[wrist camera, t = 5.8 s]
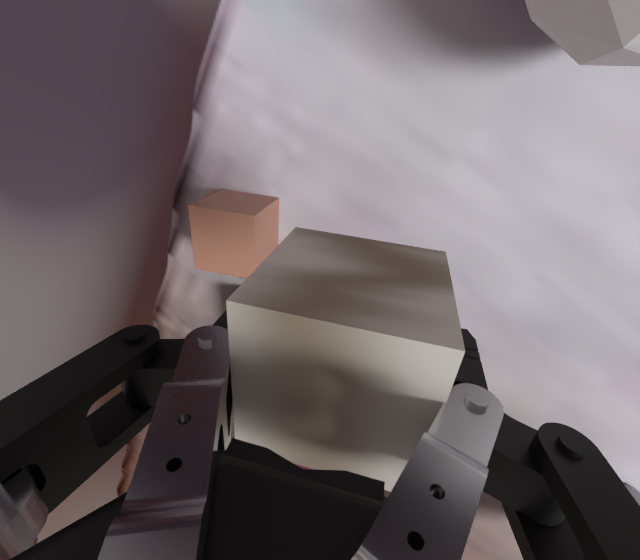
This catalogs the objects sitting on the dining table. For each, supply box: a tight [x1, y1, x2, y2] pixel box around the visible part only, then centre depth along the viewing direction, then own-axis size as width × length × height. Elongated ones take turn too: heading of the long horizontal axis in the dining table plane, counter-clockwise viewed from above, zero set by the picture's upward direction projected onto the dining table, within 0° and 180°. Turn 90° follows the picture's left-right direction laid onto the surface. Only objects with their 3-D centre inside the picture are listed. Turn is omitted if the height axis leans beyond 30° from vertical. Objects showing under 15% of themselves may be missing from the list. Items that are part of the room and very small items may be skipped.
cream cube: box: [226, 227, 465, 492], centre depth 11 cm, size 6×6×6 cm
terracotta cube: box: [188, 189, 279, 278], centre depth 29 cm, size 6×6×6 cm
